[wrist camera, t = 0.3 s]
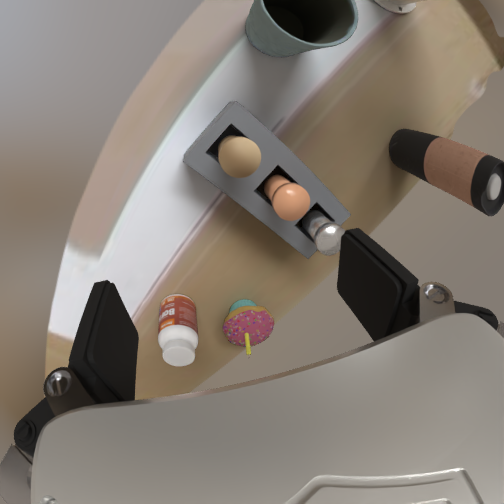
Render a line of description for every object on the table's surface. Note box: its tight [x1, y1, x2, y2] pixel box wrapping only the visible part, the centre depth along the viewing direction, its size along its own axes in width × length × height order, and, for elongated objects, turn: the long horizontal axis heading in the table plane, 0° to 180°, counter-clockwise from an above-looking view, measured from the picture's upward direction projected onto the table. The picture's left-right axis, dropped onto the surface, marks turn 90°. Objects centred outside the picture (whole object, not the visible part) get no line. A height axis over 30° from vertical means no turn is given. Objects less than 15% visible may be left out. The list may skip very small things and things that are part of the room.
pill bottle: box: [158, 294, 198, 366], centre depth 40 cm, size 6×6×11 cm
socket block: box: [183, 101, 351, 259], centre depth 35 cm, size 9×22×5 cm, turn 47°
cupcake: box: [223, 299, 274, 358], centre depth 43 cm, size 9×8×12 cm
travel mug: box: [389, 129, 504, 216], centre depth 30 cm, size 8×8×20 cm
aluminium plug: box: [302, 210, 345, 255], centre depth 35 cm, size 4×4×6 cm
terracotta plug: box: [264, 175, 310, 221], centre depth 31 cm, size 4×4×6 cm
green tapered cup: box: [245, 0, 358, 57], centre depth 21 cm, size 10×10×12 cm
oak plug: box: [218, 135, 261, 178], centre depth 28 cm, size 4×4×6 cm
